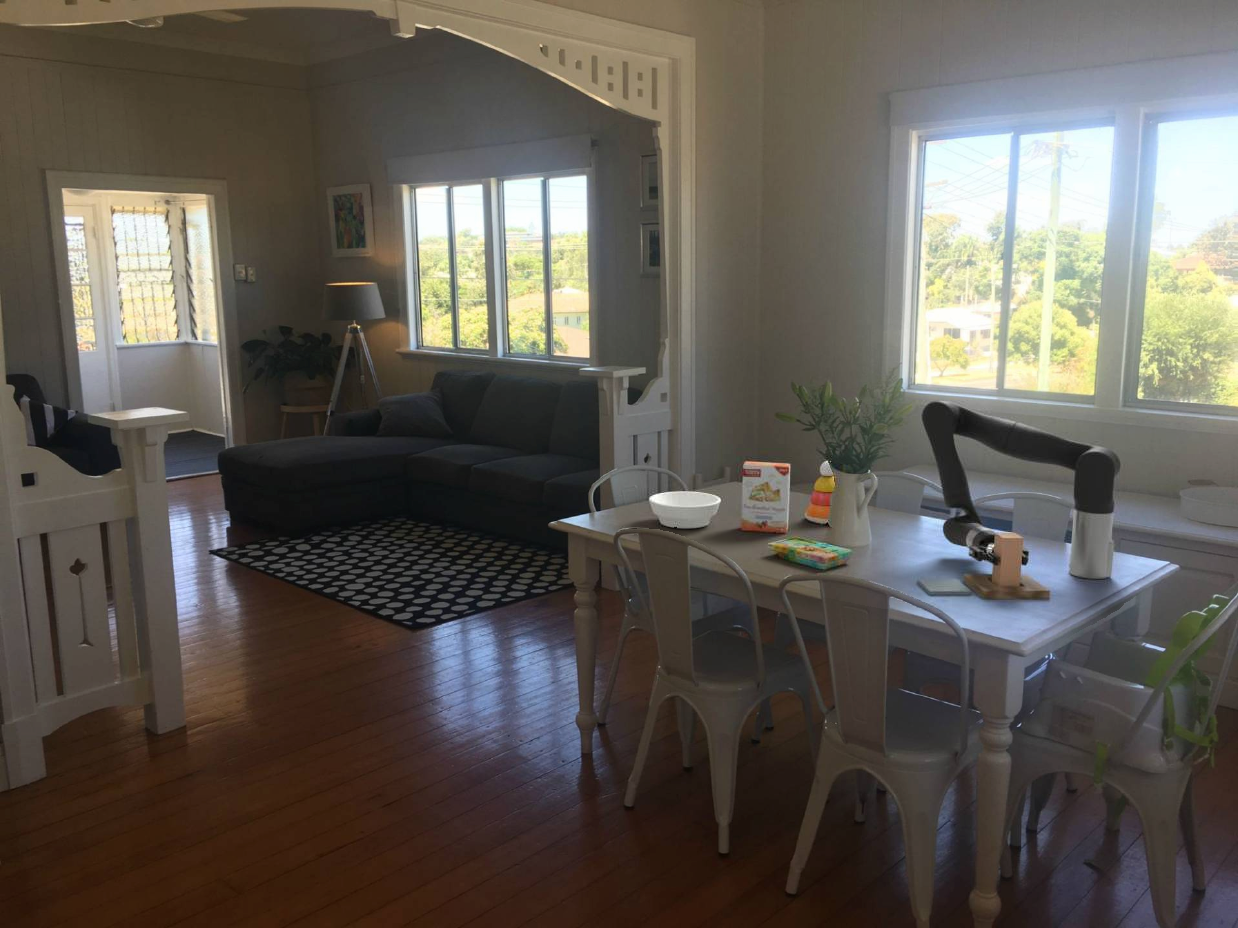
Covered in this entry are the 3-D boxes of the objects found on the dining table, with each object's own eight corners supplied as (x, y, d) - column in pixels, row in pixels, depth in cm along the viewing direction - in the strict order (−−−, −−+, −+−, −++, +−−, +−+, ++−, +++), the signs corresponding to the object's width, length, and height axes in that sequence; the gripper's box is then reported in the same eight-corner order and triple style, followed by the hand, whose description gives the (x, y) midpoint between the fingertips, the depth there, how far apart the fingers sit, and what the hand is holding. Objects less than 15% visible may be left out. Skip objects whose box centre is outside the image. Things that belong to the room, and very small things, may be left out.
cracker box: (740, 531, 307) (742, 464, 303) (743, 526, 313) (744, 460, 309) (787, 534, 304) (789, 466, 300) (788, 529, 310) (790, 462, 306)
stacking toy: (838, 514, 329) (841, 456, 325) (858, 525, 315) (860, 464, 312) (797, 517, 326) (800, 457, 322) (815, 527, 312) (817, 465, 309)
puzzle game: (824, 555, 264) (767, 540, 279) (824, 572, 265) (766, 556, 280) (852, 547, 272) (794, 533, 287) (851, 564, 272) (794, 549, 288)
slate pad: (956, 582, 255) (956, 579, 255) (970, 595, 245) (971, 591, 245) (917, 583, 255) (917, 579, 255) (930, 595, 245) (930, 591, 245)
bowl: (717, 516, 327) (718, 491, 325) (723, 533, 305) (723, 506, 303) (648, 516, 327) (648, 491, 326) (648, 533, 305) (649, 506, 304)
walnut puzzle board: (1025, 581, 256) (1026, 573, 256) (1049, 598, 243) (1050, 590, 242) (963, 581, 256) (963, 574, 256) (983, 598, 242) (984, 590, 242)
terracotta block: (1011, 586, 252) (1015, 532, 249) (1019, 593, 247) (1023, 537, 244) (991, 587, 252) (995, 532, 249) (999, 593, 247) (1003, 537, 244)
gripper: (959, 529, 261) (983, 546, 245) (1014, 529, 261) (1041, 546, 245) (957, 557, 262) (981, 576, 246) (1011, 557, 263) (1039, 576, 246)
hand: (1011, 561), depth 246 cm, fingers open, 6 cm apart
